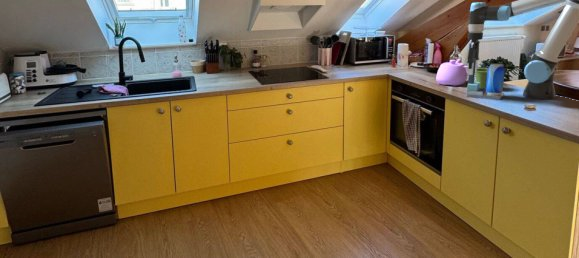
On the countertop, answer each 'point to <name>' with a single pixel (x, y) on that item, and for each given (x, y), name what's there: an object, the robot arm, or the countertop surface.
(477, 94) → the press frame
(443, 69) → the teapot
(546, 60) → the robot arm
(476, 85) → the press ram
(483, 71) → the plant pot
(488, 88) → the beer can
